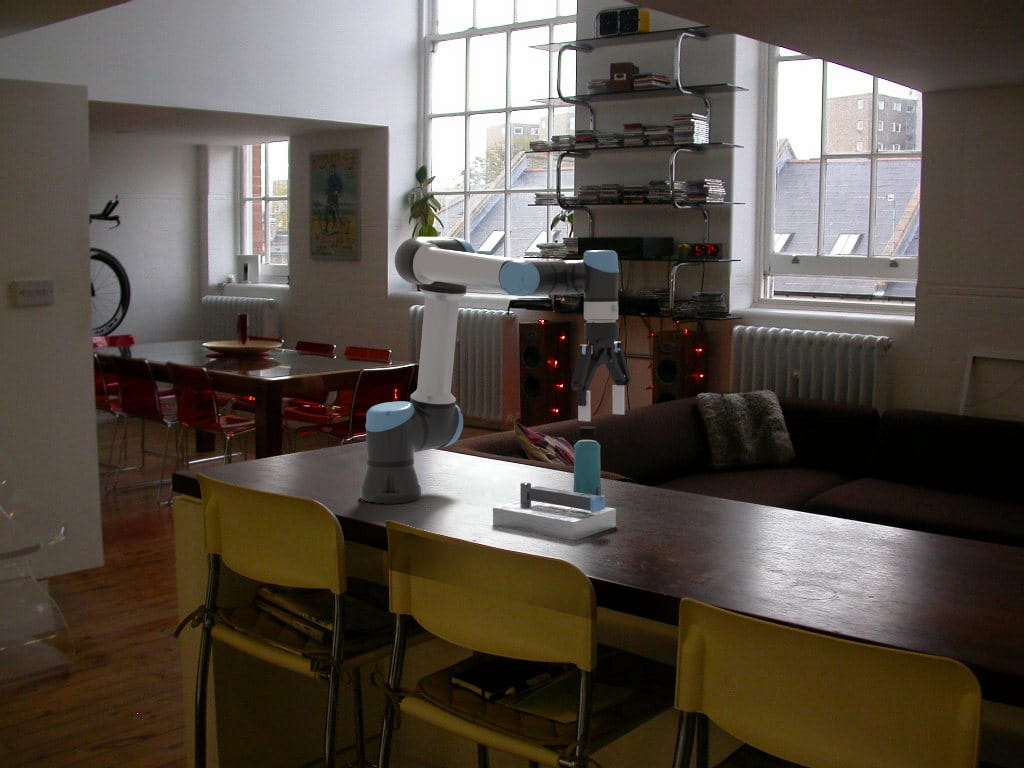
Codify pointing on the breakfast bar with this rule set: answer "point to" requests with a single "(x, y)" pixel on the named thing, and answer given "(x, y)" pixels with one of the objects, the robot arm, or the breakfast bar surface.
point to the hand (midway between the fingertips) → (601, 417)
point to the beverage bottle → (587, 463)
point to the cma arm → (567, 498)
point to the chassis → (551, 518)
